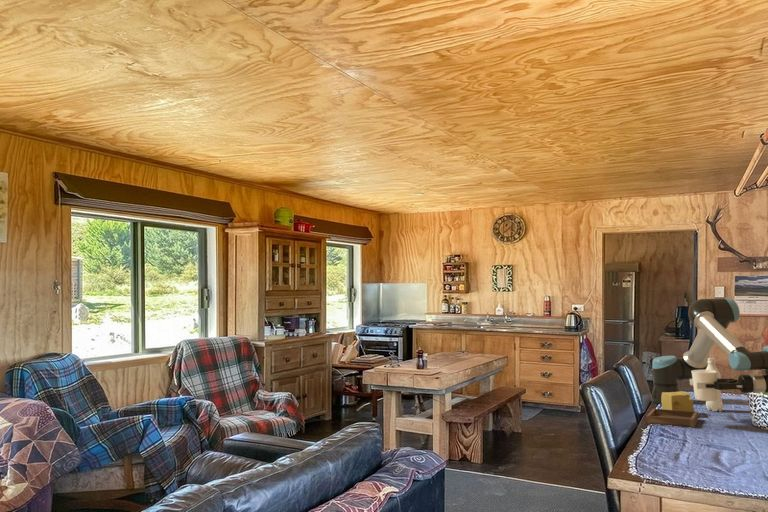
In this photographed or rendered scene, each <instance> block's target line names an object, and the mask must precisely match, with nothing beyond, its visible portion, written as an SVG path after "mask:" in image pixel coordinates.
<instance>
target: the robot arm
mask: <svg viewBox="0 0 768 512" xmlns="http://www.w3.org/2000/svg"><path fill="white" fill-rule="evenodd" d="M687 313H688V314H687V316H688V319H689V321H690V322H691V324H692V325H693V326H694V327H696V329H699V331H698V332H697V334H696V336H695V338H694V340H693V342H692V345H691V346H690V348H689V350H688V351H685V352H684V353H683V354H682V357H677V356H675V355H664V356H663V355H662V356H657V357H654V358H653V359H652V366H651V369H652V379H653V381H652V382H653V388H652V391H651V392H652V393H651V395H650V401H651V403H655V404H661V403H662V402H661V396H662V392H679V391H681V390H680V388H679V382H682V381H683V382H684V381H686V382H687V381H688V382H689V385H690V386H693V380H692V372H691V371H692V370H706V368H707V366H708V363H707V361H708V356H709V354H710V353H711V351H712V349H713V347H714V345H716V346H718V348H719V349H720V350H721V351H722V352H723V353H725V354H726V356H728V363H729V365H730V367H731V369H733V370H734V371H742V372H746V371H758V370H760V371H762V370H764V373H765V374H740V375H738V378H737V379H736V378H730V377H729V378H721V379H717V381H714V382H696V386H697V389H714V388H715V389H718V390H721V391H722V390H723V391H725V390H726V391H727V390H740V392H741V393H742V394H752V393H754V394H755V393H756V394H758V393H761V394H762V393H763V394H768V346H767V345H765V346H763V348H762V351H750V350H749V349H748V348H746V346H745V345H743V344H742V343H741V342H740V341H739V340H738V338H736V337H735V336H734V335H733V334H732V333H730V331H729V330H727V328H728V327H729V325H730V323H731V324H733V323H736V322H738V321H739V319H740V316H741V315H740V313H741V312H740V307H739V306H738V303H737V302H736V301H735V300H734V299H733V298H731V297H729V298H728V297H727V298H725V297H721V298H700V299H697V300H695V301H693V302H692V303H691V304H690V305H689V308H688V312H687Z"/></svg>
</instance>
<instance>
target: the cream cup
mask: <svg viewBox="0 0 768 512" xmlns="http://www.w3.org/2000/svg"><path fill="white" fill-rule="evenodd" d="M691 372H692V380H693V385H692V386H693V387H692V388H693V394H694V399H695V400H696V401H701V402H706V401H716V400H717V389H715V388H714V389H697V386H696V382H714V381H717V371H713V370H692V371H691Z"/></svg>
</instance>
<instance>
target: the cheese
mask: <svg viewBox="0 0 768 512" xmlns="http://www.w3.org/2000/svg"><path fill="white" fill-rule="evenodd" d="M661 402H662V404H661V409H665V410H679V411H693V412H696V410H695V408H694V400H693V398H692V396H691V395H690V394H689V393H688V392H685V391H682V390H680V391H679V392H662V396H661Z"/></svg>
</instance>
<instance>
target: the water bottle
mask: <svg viewBox="0 0 768 512" xmlns="http://www.w3.org/2000/svg"><path fill="white" fill-rule="evenodd" d="M707 363H708V366H707V368H706V370H713V371H717V379H722V378H721V377H722V376H721V372H720V370H719V369H718V367H717V366H716V359H715V357H707ZM705 407H706V409H707V411H709V410H711V411H712V412H714V411H716V412H717V411H718V412H722V411H723V409H724V408H723V407H724V403H723V400H722V390H718V389H717V400H716V401H705Z"/></svg>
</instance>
